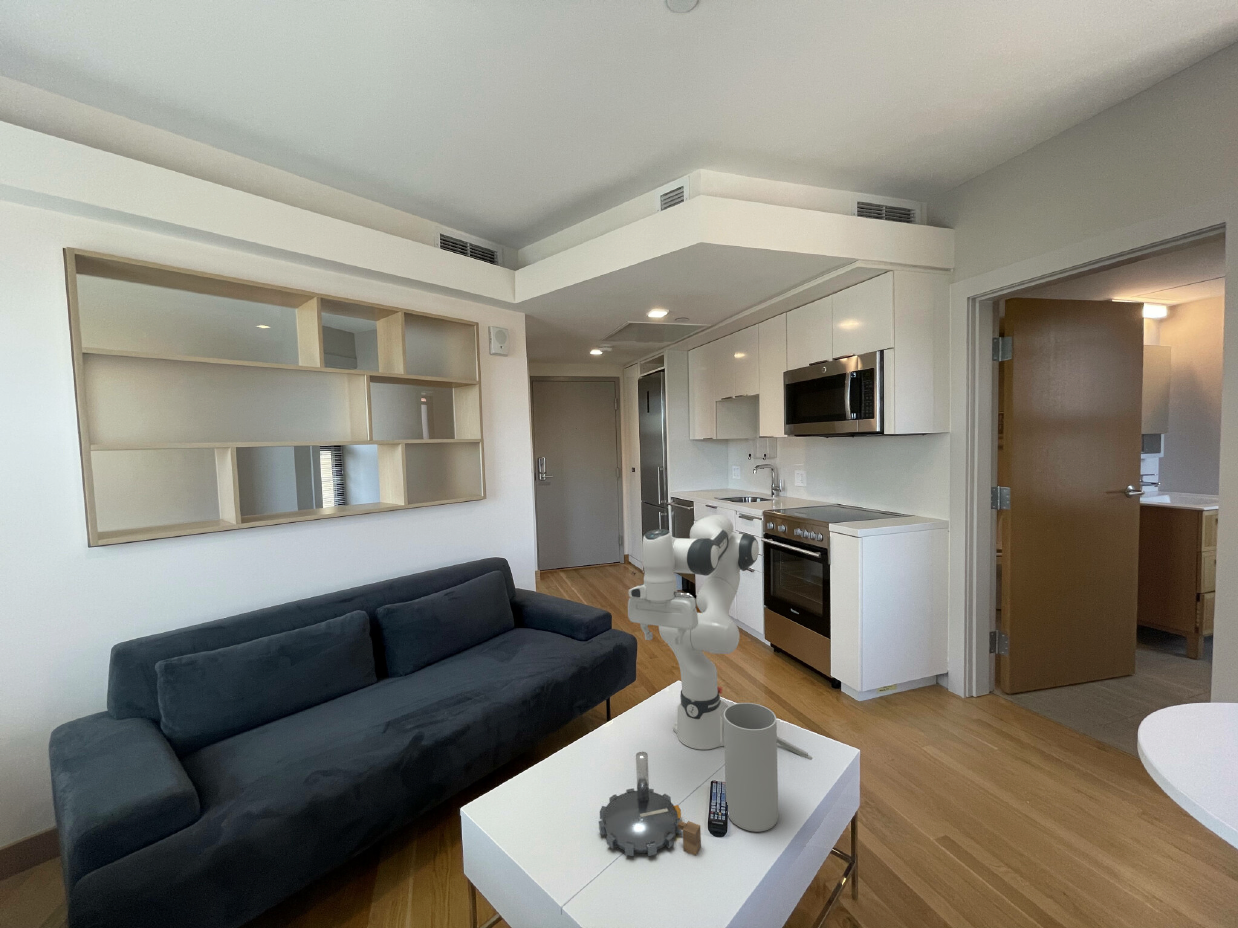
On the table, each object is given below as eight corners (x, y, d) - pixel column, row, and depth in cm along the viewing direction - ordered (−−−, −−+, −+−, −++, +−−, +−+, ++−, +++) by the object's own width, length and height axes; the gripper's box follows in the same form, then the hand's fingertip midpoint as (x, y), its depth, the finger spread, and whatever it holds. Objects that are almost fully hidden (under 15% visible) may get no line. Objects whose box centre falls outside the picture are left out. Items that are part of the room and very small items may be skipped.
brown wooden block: (682, 838, 121) (681, 817, 121) (700, 846, 118) (700, 825, 118) (676, 847, 118) (675, 826, 118) (695, 855, 116) (695, 834, 116)
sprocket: (626, 785, 139) (624, 739, 138) (695, 811, 128) (693, 761, 128) (583, 834, 122) (580, 782, 121) (658, 869, 111) (656, 811, 111)
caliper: (745, 736, 161) (744, 717, 161) (746, 735, 162) (746, 715, 162) (811, 760, 148) (810, 739, 148) (812, 758, 149) (812, 737, 149)
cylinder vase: (787, 811, 128) (785, 713, 127) (764, 842, 119) (761, 736, 118) (741, 790, 137) (739, 697, 136) (716, 816, 127) (713, 718, 126)
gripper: (700, 591, 137) (703, 643, 137) (635, 585, 148) (638, 633, 148) (689, 596, 132) (693, 651, 131) (623, 590, 143) (626, 640, 143)
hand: (663, 641), depth 140 cm, fingers open, 8 cm apart
